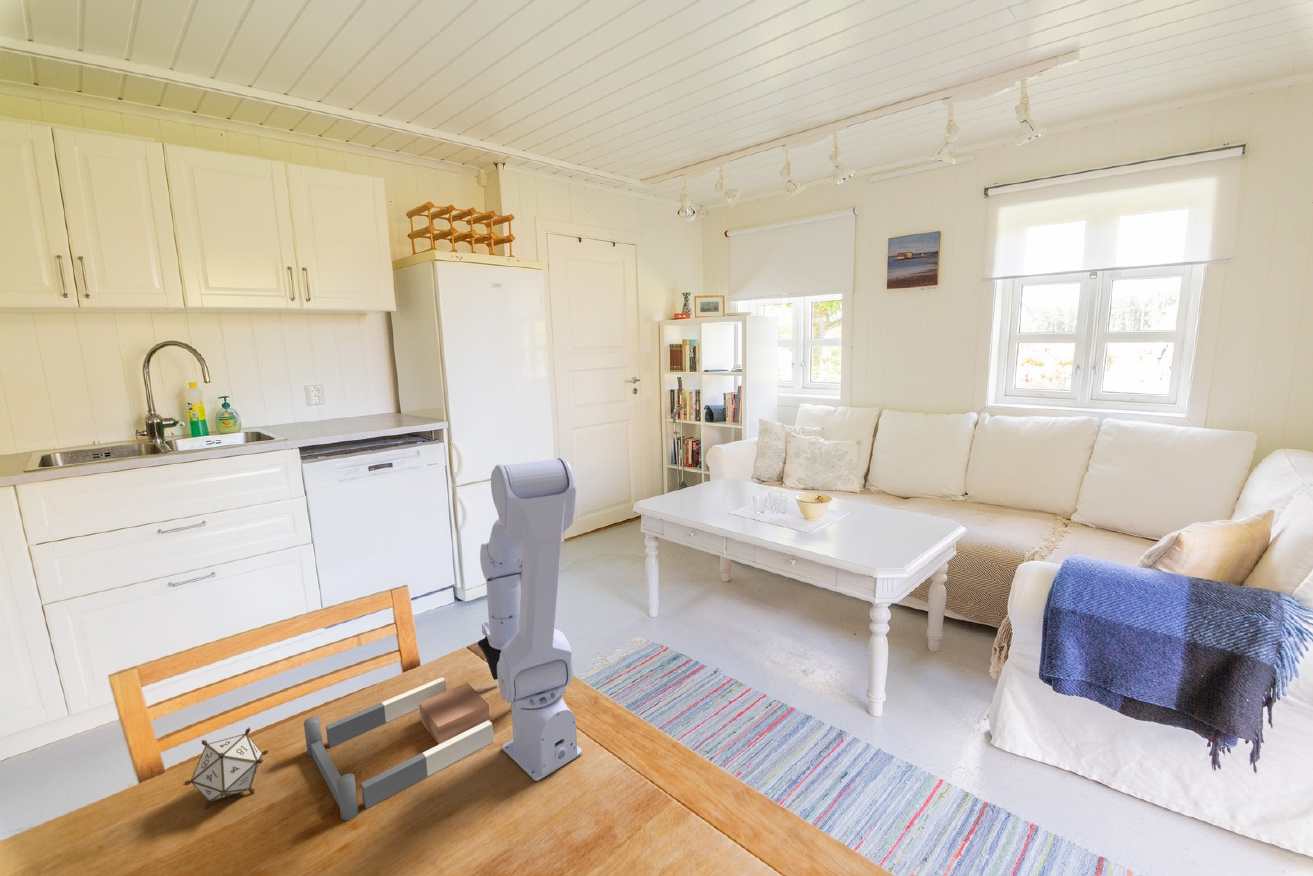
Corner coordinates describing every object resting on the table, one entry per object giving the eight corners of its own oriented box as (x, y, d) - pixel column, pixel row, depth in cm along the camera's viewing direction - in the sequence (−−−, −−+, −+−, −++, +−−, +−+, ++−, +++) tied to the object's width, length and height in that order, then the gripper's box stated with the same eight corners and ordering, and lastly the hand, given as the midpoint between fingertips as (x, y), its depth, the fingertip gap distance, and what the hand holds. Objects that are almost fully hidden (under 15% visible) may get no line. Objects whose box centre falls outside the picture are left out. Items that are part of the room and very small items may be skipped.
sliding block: (490, 724, 91) (488, 704, 90) (439, 748, 86) (438, 727, 85) (469, 701, 97) (467, 682, 96) (420, 722, 92) (419, 702, 91)
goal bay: (428, 778, 79) (426, 745, 78) (343, 823, 72) (339, 787, 71) (382, 718, 92) (379, 690, 91) (305, 751, 85) (302, 721, 84)
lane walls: (493, 741, 86) (492, 723, 86) (427, 776, 80) (425, 757, 79) (443, 693, 99) (442, 677, 98) (383, 719, 92) (381, 702, 91)
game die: (241, 825, 76) (225, 803, 70) (179, 804, 76) (157, 781, 70) (287, 755, 83) (276, 729, 77) (230, 736, 83) (215, 708, 76)
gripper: (550, 617, 93) (554, 694, 95) (505, 591, 104) (509, 660, 106) (512, 632, 88) (516, 713, 91) (468, 603, 99) (473, 676, 101)
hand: (510, 686), depth 98 cm, fingers open, 7 cm apart
